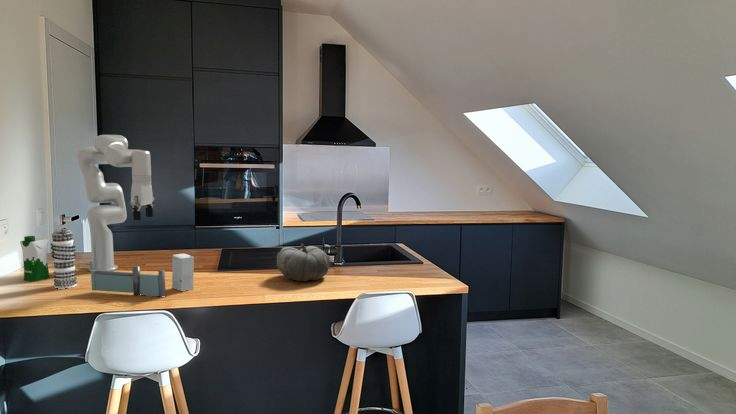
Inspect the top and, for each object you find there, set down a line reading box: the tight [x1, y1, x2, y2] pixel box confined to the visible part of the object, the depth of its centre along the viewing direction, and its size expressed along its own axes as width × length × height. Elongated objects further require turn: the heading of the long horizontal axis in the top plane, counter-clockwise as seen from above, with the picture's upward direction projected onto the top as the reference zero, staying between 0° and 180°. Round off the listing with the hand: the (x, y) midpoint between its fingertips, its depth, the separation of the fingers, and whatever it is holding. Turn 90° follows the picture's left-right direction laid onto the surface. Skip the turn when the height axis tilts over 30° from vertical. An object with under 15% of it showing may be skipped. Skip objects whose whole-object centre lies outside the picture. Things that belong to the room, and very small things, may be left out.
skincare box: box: [171, 252, 195, 292], centre depth 220 cm, size 8×6×15 cm
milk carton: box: [19, 235, 51, 282], centre depth 231 cm, size 9×9×20 cm
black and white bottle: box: [49, 228, 78, 290], centre depth 220 cm, size 9×9×25 cm
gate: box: [90, 270, 133, 294], centre depth 212 cm, size 18×2×8 cm, turn 81°
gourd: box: [276, 243, 331, 282], centre depth 240 cm, size 25×25×17 cm
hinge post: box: [131, 265, 141, 296], centre depth 210 cm, size 3×3×12 cm
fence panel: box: [140, 269, 166, 298], centre depth 209 cm, size 11×2×11 cm, turn 81°
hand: (143, 218), depth 222 cm, fingers open, 9 cm apart
